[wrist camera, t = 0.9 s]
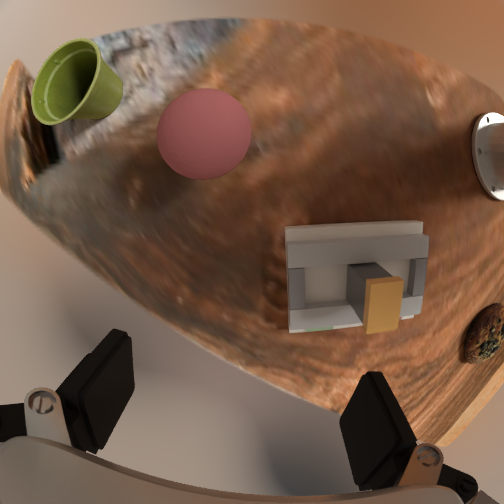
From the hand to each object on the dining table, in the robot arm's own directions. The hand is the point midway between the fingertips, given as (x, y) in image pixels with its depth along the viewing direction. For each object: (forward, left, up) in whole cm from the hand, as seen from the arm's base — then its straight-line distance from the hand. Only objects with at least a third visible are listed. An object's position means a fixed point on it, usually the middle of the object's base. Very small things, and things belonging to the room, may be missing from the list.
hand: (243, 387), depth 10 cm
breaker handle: (-11, +4, -19) cm, 23 cm away
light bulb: (+3, -11, -21) cm, 24 cm away
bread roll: (-37, +17, -22) cm, 46 cm away
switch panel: (-11, +4, -21) cm, 24 cm away
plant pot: (+17, -20, -21) cm, 34 cm away
